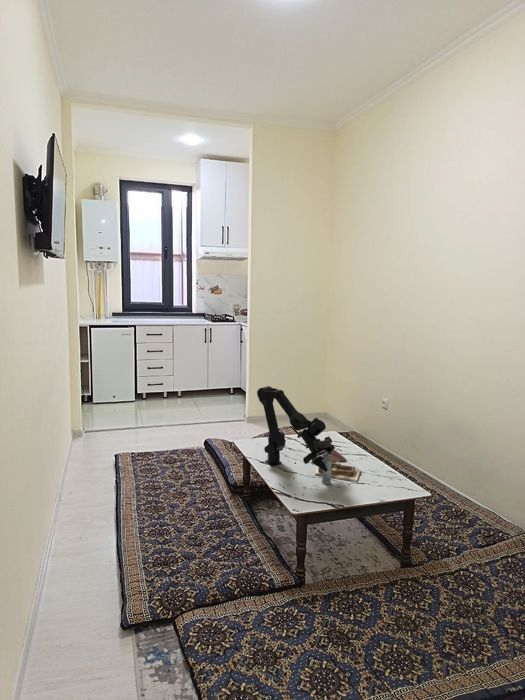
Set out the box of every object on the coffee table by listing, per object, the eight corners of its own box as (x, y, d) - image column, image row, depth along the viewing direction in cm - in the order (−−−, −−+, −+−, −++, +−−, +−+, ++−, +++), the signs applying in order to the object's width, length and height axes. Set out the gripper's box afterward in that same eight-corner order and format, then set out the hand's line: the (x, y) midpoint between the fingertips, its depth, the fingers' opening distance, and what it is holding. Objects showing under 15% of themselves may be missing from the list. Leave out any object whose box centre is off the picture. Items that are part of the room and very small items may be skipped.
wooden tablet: (311, 443, 267) (327, 440, 269) (311, 447, 268) (328, 443, 270) (330, 461, 242) (348, 458, 244) (330, 465, 242) (348, 462, 245)
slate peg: (320, 481, 220) (321, 455, 218) (326, 479, 222) (328, 453, 220) (325, 485, 217) (327, 458, 215) (332, 483, 219) (333, 456, 217)
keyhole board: (314, 474, 228) (315, 468, 227) (320, 464, 240) (320, 459, 239) (356, 481, 221) (357, 475, 221) (360, 471, 233) (360, 465, 233)
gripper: (309, 436, 212) (328, 467, 206) (332, 427, 225) (351, 456, 220) (295, 449, 218) (313, 479, 213) (318, 439, 232) (336, 467, 226)
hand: (329, 469), depth 218 cm, fingers closed on slate peg, 4 cm apart
